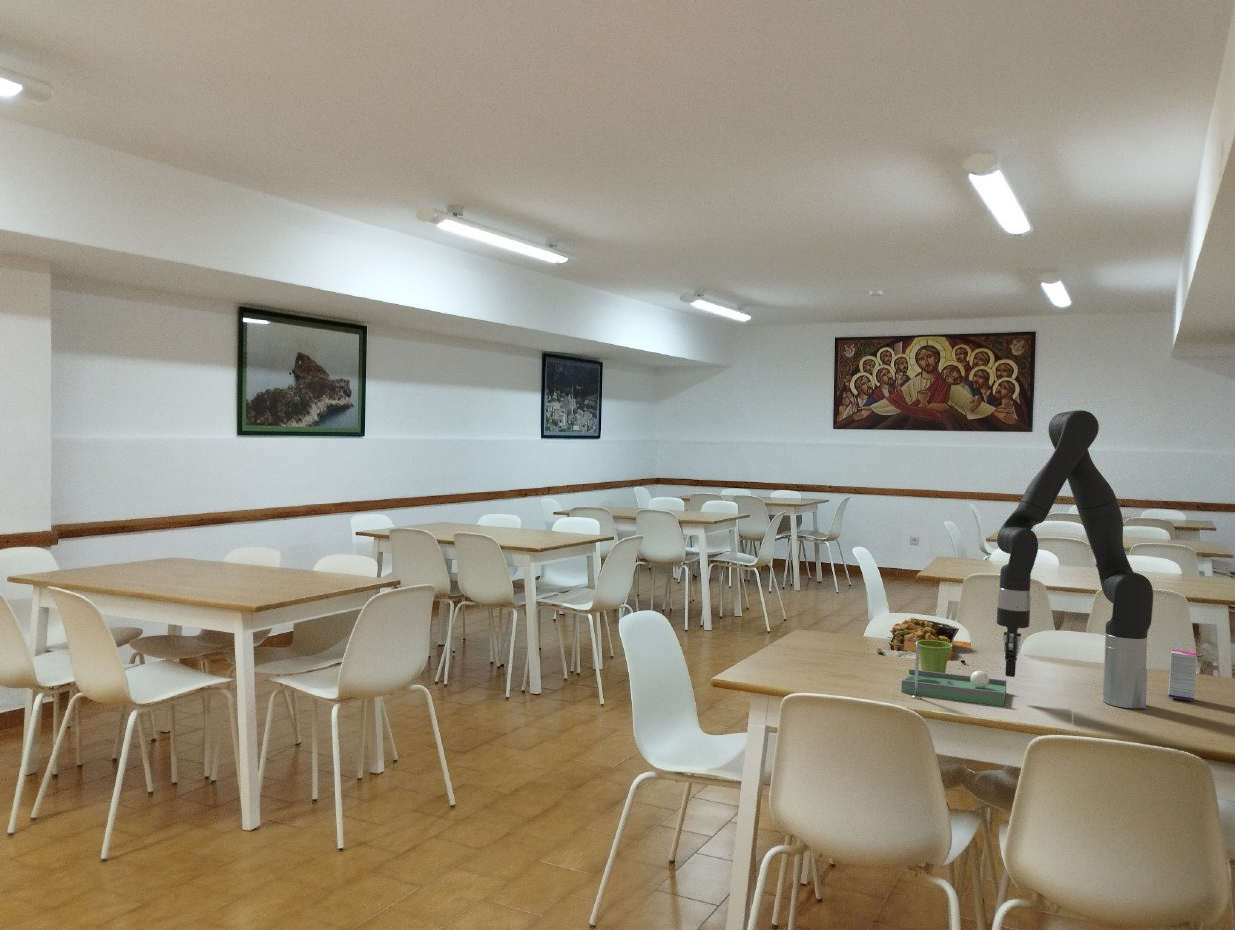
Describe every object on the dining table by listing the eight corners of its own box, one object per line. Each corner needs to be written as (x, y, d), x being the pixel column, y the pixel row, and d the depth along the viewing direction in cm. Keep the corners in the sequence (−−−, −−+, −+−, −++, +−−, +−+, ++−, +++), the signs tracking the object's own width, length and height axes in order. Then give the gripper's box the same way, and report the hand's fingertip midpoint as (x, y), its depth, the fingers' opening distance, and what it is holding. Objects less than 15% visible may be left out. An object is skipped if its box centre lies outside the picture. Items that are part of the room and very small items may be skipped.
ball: (989, 687, 238) (989, 670, 238) (988, 691, 234) (988, 673, 234) (970, 685, 240) (971, 667, 240) (969, 689, 236) (969, 671, 236)
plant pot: (953, 680, 253) (954, 648, 253) (917, 677, 255) (918, 646, 255) (948, 672, 262) (949, 641, 262) (913, 669, 264) (914, 639, 264)
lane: (1006, 692, 241) (1006, 680, 241) (1003, 706, 228) (1003, 693, 228) (908, 680, 251) (909, 668, 251) (901, 693, 238) (901, 680, 238)
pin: (921, 697, 234) (923, 642, 234) (920, 700, 232) (922, 643, 232) (903, 695, 236) (905, 640, 236) (901, 697, 234) (903, 641, 234)
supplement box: (1195, 700, 238) (1196, 655, 237) (1167, 697, 241) (1169, 652, 240) (1195, 695, 242) (1196, 651, 242) (1168, 692, 246) (1170, 648, 245)
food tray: (889, 636, 314) (890, 605, 313) (971, 644, 304) (972, 611, 303) (875, 658, 281) (876, 622, 281) (966, 667, 272) (967, 630, 271)
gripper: (1029, 612, 226) (1025, 684, 227) (1030, 604, 238) (1027, 672, 239) (995, 609, 229) (992, 679, 230) (999, 601, 241) (995, 668, 242)
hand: (1010, 675), depth 234 cm, fingers closed
